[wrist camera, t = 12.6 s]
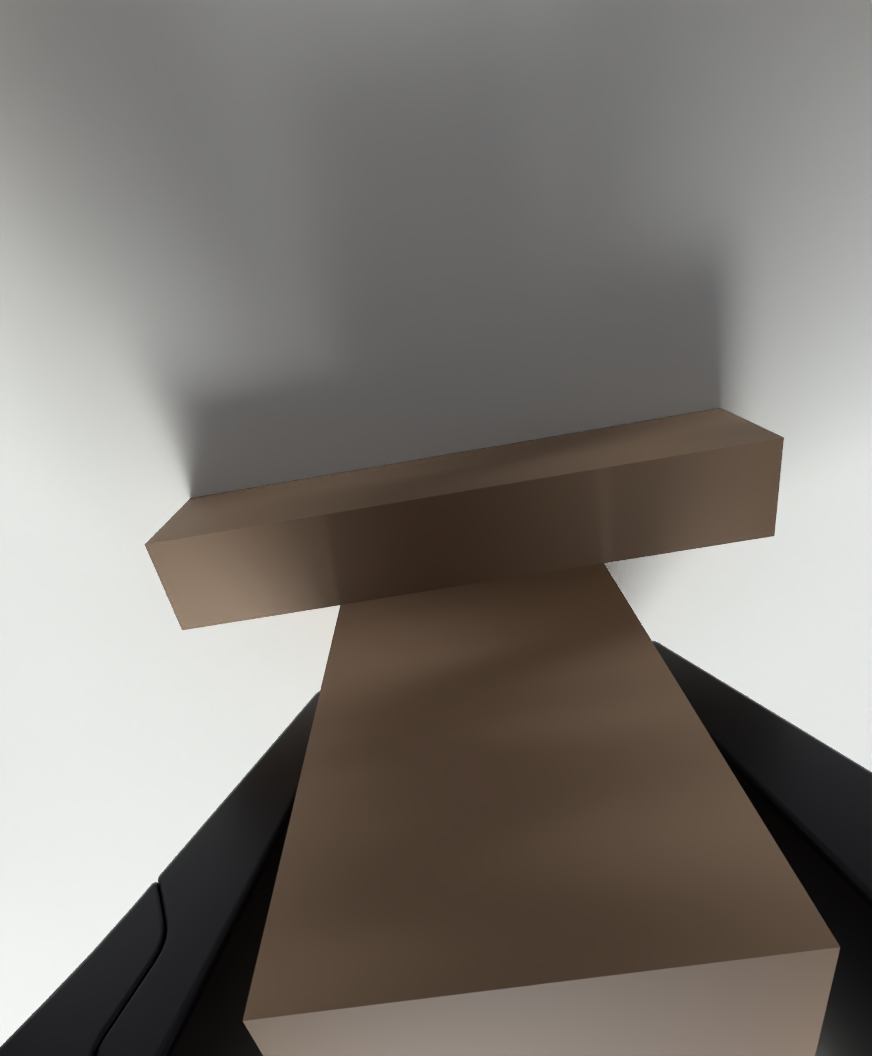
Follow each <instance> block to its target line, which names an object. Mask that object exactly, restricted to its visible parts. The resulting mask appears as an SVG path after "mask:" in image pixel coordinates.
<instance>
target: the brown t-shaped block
mask: <svg viewBox="0 0 872 1056" xmlns="http://www.w3.org/2000/svg"><path fill="white" fill-rule="evenodd" d="M783 440H784V438H783V437H781V436H779V435H777V434H775V433H773V432H771V431H769V430H766V429H764V428H762V427H760V426H758V425H756V424H754V423H752V422H749V421H747V420H745V419H743V418H741V417H739V416H737V415H735V414H733V413H730V412H728V411H726V410H724V409H722V408H717V409H712V410H706V411H700V412H694V413H688V414H682V415H676V416H671V417H665V418H659V419H653V420H647V421H641V422H635V423H630V424H624V425H618V426H612V427H606V428H600V429H594V430H589V431H583V432H577V433H571V434H565V435H559V436H553V437H548V438H542V439H536V440H530V441H524V442H518V443H512V444H507V445H501V446H495V447H489V448H483V449H477V450H471V451H466V452H460V453H454V454H448V455H442V456H436V457H430V458H425V459H419V460H413V461H407V462H401V463H395V464H389V465H384V466H378V467H372V468H366V469H360V470H354V471H348V472H343V473H337V474H331V475H325V476H319V477H313V478H307V479H302V480H296V481H290V482H284V483H278V484H272V485H266V486H261V487H255V488H249V489H243V490H237V491H231V492H225V493H220V494H214V495H208V496H202V497H196V498H190V499H189V500H188V501H187V503H186V504H185V505H184V506H183V507H182V508H181V509H180V510H179V511H178V512H177V513H176V514H175V515H174V516H173V517H172V518H171V519H170V520H169V521H168V522H167V523H166V524H165V525H164V526H163V527H162V528H161V529H160V530H159V531H158V532H157V533H156V534H155V535H154V536H153V537H152V538H151V539H150V540H149V541H148V542H147V543H146V544H145V546H146V548H147V551H148V553H149V555H150V558H151V560H152V562H153V564H154V567H155V569H156V571H157V574H158V576H159V578H160V580H161V583H162V585H163V587H164V590H165V592H166V594H167V596H168V599H169V601H170V603H171V606H172V608H173V610H174V612H175V615H176V617H177V619H178V621H179V624H180V626H181V628H182V630H186V629H192V628H199V627H205V626H211V625H217V624H224V623H230V622H236V621H243V620H249V619H255V618H261V617H268V616H274V615H280V614H287V613H293V612H299V611H305V610H312V609H318V608H324V607H331V606H337V605H340V610H339V614H338V618H337V622H336V627H335V631H334V635H333V639H332V644H331V648H330V652H329V656H328V661H327V665H326V669H325V673H324V678H323V682H322V686H321V690H320V695H319V699H318V703H317V707H316V712H315V716H314V720H313V724H312V728H311V733H310V737H309V741H308V745H307V750H306V754H305V758H304V762H303V767H302V771H301V775H300V779H299V784H298V788H297V792H296V796H295V801H294V805H293V809H292V813H291V818H290V822H289V826H288V830H287V834H286V839H285V843H284V847H283V851H282V856H281V860H280V864H279V868H278V873H277V877H276V881H275V885H274V890H273V894H272V898H271V902H270V907H269V911H268V915H267V919H266V924H265V928H264V932H263V936H262V940H261V945H260V949H259V953H258V957H257V962H256V966H255V970H254V974H253V979H252V983H251V987H250V991H249V996H248V1000H247V1004H246V1008H245V1013H244V1017H243V1023H244V1024H245V1026H246V1028H247V1029H248V1031H249V1033H250V1034H251V1036H252V1038H253V1039H254V1041H255V1043H256V1044H257V1046H258V1048H259V1049H260V1051H261V1053H262V1055H263V1056H815V1054H816V1049H817V1045H818V1041H819V1037H820V1032H821V1028H822V1024H823V1019H824V1015H825V1011H826V1007H827V1002H828V998H829V994H830V989H831V985H832V981H833V977H834V972H835V968H836V964H837V960H838V955H839V951H840V946H839V944H838V942H837V941H836V939H835V938H834V936H833V934H832V933H831V931H830V930H829V928H828V926H827V925H826V923H825V921H824V920H823V918H822V917H821V915H820V913H819V912H818V910H817V908H816V907H815V905H814V904H813V902H812V900H811V899H810V897H809V895H808V894H807V892H806V891H805V889H804V887H803V886H802V884H801V882H800V881H799V879H798V878H797V876H796V874H795V873H794V871H793V869H792V868H791V866H790V865H789V863H788V861H787V860H786V858H785V857H784V855H783V853H782V852H781V850H780V848H779V847H778V845H777V844H776V842H775V840H774V839H773V837H772V835H771V834H770V832H769V831H768V829H767V827H766V826H765V824H764V822H763V821H762V819H761V818H760V816H759V814H758V813H757V811H756V809H755V808H754V806H753V805H752V803H751V801H750V800H749V798H748V796H747V795H746V793H745V792H744V790H743V788H742V787H741V785H740V784H739V782H738V780H737V779H736V777H735V775H734V774H733V772H732V771H731V769H730V767H729V766H728V764H727V762H726V761H725V759H724V758H723V756H722V754H721V753H720V751H719V749H718V748H717V746H716V745H715V743H714V741H713V740H712V738H711V736H710V735H709V733H708V732H707V730H706V728H705V727H704V725H703V724H702V722H701V720H700V719H699V717H698V715H697V714H696V712H695V711H694V709H693V707H692V706H691V704H690V702H689V701H688V699H687V698H686V696H685V694H684V693H683V691H682V689H681V688H680V686H679V685H678V683H677V681H676V680H675V678H674V676H673V675H672V673H671V672H670V670H669V668H668V667H667V665H666V663H665V662H664V660H663V659H662V657H661V655H660V654H659V652H658V651H657V649H656V647H655V646H654V644H653V642H652V641H651V639H650V638H649V636H648V634H647V633H646V631H645V629H644V628H643V626H642V625H641V623H640V621H639V620H638V618H637V616H636V615H635V613H634V612H633V610H632V608H631V607H630V605H629V603H628V602H627V600H626V599H625V597H624V595H623V594H622V592H621V590H620V589H619V587H618V586H617V584H616V582H615V581H614V579H613V578H612V576H611V574H610V573H609V571H608V569H607V568H606V566H605V565H604V563H607V562H613V561H620V560H626V559H632V558H638V557H645V556H651V555H657V554H664V553H670V552H676V551H682V550H689V549H695V548H701V547H708V546H714V545H720V544H726V543H733V542H739V541H745V540H752V539H758V538H764V537H770V536H774V533H775V523H776V512H777V502H778V492H779V481H780V471H781V460H782V450H783Z"/></svg>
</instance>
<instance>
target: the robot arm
mask: <svg viewBox="0 0 872 1056" xmlns="http://www.w3.org/2000/svg"><path fill="white" fill-rule="evenodd" d="M652 642H653V644H654V646H655V647H656V649H657V651H658V652H659V654H660V655H661V657H662V659H663V660H664V662H665V663H666V665H667V667H668V668H669V670H670V672H671V673H672V675H673V676H674V678H675V680H676V681H677V683H678V685H679V686H680V688H681V689H682V691H683V693H684V694H685V696H686V698H687V699H688V701H689V702H690V704H691V706H692V707H693V709H694V711H695V712H696V714H697V715H698V717H699V719H700V720H701V722H702V724H703V725H704V727H705V728H706V730H707V732H708V733H709V735H710V736H711V738H712V740H713V741H714V743H715V745H716V746H717V748H718V749H719V751H720V753H721V754H722V756H723V758H724V759H725V761H726V762H727V764H728V766H729V767H730V769H731V771H732V772H733V774H734V775H735V777H736V779H737V780H738V782H739V784H740V785H741V787H742V788H743V790H744V792H745V793H746V795H747V796H748V798H749V800H750V801H751V803H752V805H753V806H754V808H755V809H756V811H757V813H758V814H759V816H760V818H761V819H762V821H763V822H764V824H765V826H766V827H767V829H768V831H769V832H770V834H771V835H772V837H773V839H774V840H775V842H776V844H777V845H778V847H779V848H780V850H781V852H782V853H783V855H784V857H785V858H786V860H787V861H788V863H789V865H790V866H791V868H792V869H793V871H794V873H795V874H796V876H797V878H798V879H799V881H800V882H801V884H802V886H803V887H804V889H805V891H806V892H807V894H808V895H809V897H810V899H811V900H812V902H813V904H814V905H815V907H816V908H817V910H818V912H819V913H820V915H821V917H822V918H823V920H824V921H825V923H826V925H827V926H828V928H829V930H830V931H831V933H832V934H833V936H834V938H835V939H836V941H837V942H838V944H839V946H840V951H839V955H838V960H837V964H836V968H835V972H834V977H833V981H832V985H831V989H830V994H829V998H828V1002H827V1007H826V1011H825V1015H824V1019H823V1024H822V1028H821V1032H820V1037H819V1041H818V1045H817V1049H816V1054H815V1056H872V772H871V771H869V770H867V769H866V768H864V767H862V766H861V765H859V764H857V763H856V762H854V761H852V760H851V759H849V758H847V757H846V756H844V755H843V754H841V753H839V752H838V751H836V750H834V749H833V748H831V747H829V746H828V745H826V744H824V743H823V742H821V741H819V740H818V739H816V738H815V737H813V736H811V735H810V734H808V733H806V732H805V731H803V730H801V729H800V728H798V727H796V726H795V725H793V724H791V723H790V722H788V721H787V720H785V719H783V718H782V717H780V716H778V715H777V714H775V713H773V712H772V711H770V710H768V709H767V708H765V707H763V706H762V705H760V704H759V703H757V702H755V701H754V700H752V699H750V698H749V697H747V696H745V695H744V694H742V693H740V692H739V691H737V690H735V689H734V688H732V687H731V686H729V685H727V684H726V683H724V682H722V681H721V680H719V679H717V678H716V677H714V676H712V675H711V674H709V673H707V672H706V671H704V670H703V669H701V668H699V667H698V666H696V665H694V664H693V663H691V662H689V661H688V660H686V659H684V658H683V657H681V656H679V655H678V654H676V653H675V652H673V651H671V650H670V649H668V648H666V647H665V646H663V645H661V644H660V643H658V642H655V641H652ZM319 695H320V691H319V692H318V693H316V694H315V696H314V697H313V698H312V699H311V700H310V701H309V702H308V704H307V705H306V706H305V707H304V708H303V709H302V711H301V712H300V713H299V714H298V715H297V716H296V718H295V719H294V720H293V721H292V722H291V723H290V725H289V726H288V727H287V728H286V729H285V730H284V732H283V733H282V734H281V735H280V736H279V737H278V739H277V740H276V741H275V742H274V743H273V744H272V745H271V747H270V748H269V749H268V750H267V751H266V752H265V754H264V755H263V756H262V757H261V758H260V759H259V761H258V762H257V763H256V764H255V765H254V766H253V768H252V769H251V770H250V771H249V772H248V773H247V775H246V776H245V777H244V778H243V779H242V780H241V782H240V783H239V784H238V785H237V786H236V787H235V788H234V790H233V791H232V792H231V793H230V794H229V795H228V797H227V798H226V799H225V800H224V801H223V802H222V804H221V805H220V806H219V807H218V808H217V809H216V811H215V812H214V813H213V814H212V815H211V816H210V818H209V819H208V820H207V821H206V822H205V823H204V825H203V826H202V827H201V828H200V829H199V830H198V831H197V833H196V834H195V835H194V836H193V837H192V838H191V840H190V841H189V842H188V843H187V844H186V845H185V847H184V848H183V849H182V850H181V851H180V852H179V854H178V855H177V856H176V857H175V858H174V859H173V861H172V862H171V863H170V864H169V865H168V866H167V868H166V869H165V870H164V871H163V872H162V873H161V874H160V876H159V878H158V883H157V882H154V883H153V884H152V885H151V886H150V887H149V888H148V889H147V890H146V892H145V893H144V894H143V895H142V896H141V897H140V899H139V900H138V901H137V902H136V903H135V904H134V906H133V907H132V908H131V909H130V910H129V911H128V912H127V914H126V915H125V916H124V917H123V918H122V919H121V920H120V921H119V922H118V924H117V925H116V926H115V927H114V928H113V929H112V930H111V931H110V933H109V934H108V935H107V936H106V937H105V938H104V939H103V940H102V942H101V943H100V944H99V945H98V946H97V947H96V948H95V949H94V950H93V952H92V953H91V954H90V955H89V956H88V957H87V958H86V959H85V960H84V961H83V962H82V963H81V964H80V965H79V966H78V967H77V968H76V969H75V971H74V972H73V973H72V974H71V975H70V976H69V977H68V978H67V979H66V980H65V981H64V982H63V983H62V984H61V985H60V986H59V987H58V988H57V989H56V990H55V992H54V993H53V994H52V995H51V996H50V997H49V998H48V999H47V1000H46V1001H45V1002H44V1003H43V1004H42V1005H41V1006H40V1007H39V1008H38V1009H37V1010H36V1011H35V1012H34V1013H33V1014H32V1015H31V1016H30V1017H29V1018H28V1019H27V1020H26V1021H25V1022H24V1023H23V1024H22V1025H21V1026H20V1027H19V1028H18V1029H17V1030H16V1032H15V1033H14V1034H13V1035H12V1036H11V1037H10V1038H9V1039H8V1040H7V1041H6V1042H5V1043H4V1044H3V1045H2V1046H1V1047H0V1056H263V1055H262V1053H261V1051H260V1049H259V1048H258V1046H257V1044H256V1043H255V1041H254V1039H253V1038H252V1036H251V1034H250V1033H249V1031H248V1029H247V1028H246V1026H245V1024H244V1023H243V1017H244V1013H245V1008H246V1004H247V1000H248V996H249V991H250V987H251V983H252V979H253V974H254V970H255V966H256V962H257V957H258V953H259V949H260V945H261V940H262V936H263V932H264V928H265V924H266V919H267V915H268V911H269V907H270V902H271V898H272V894H273V890H274V885H275V881H276V877H277V873H278V868H279V864H280V860H281V856H282V851H283V847H284V843H285V839H286V834H287V830H288V826H289V822H290V818H291V813H292V809H293V805H294V801H295V796H296V792H297V788H298V784H299V779H300V775H301V771H302V767H303V762H304V758H305V754H306V750H307V745H308V741H309V737H310V733H311V728H312V724H313V720H314V716H315V712H316V707H317V703H318V699H319Z"/></svg>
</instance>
